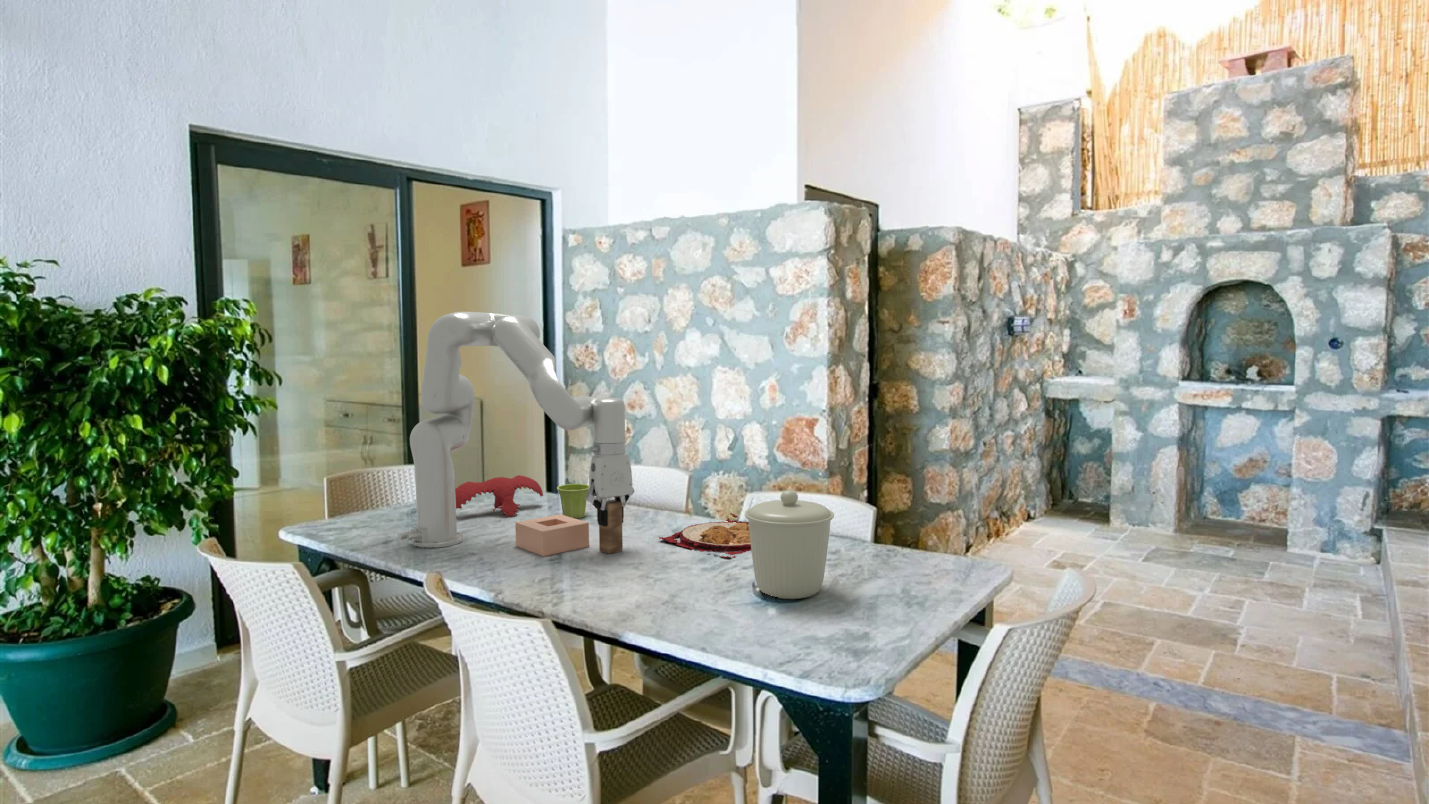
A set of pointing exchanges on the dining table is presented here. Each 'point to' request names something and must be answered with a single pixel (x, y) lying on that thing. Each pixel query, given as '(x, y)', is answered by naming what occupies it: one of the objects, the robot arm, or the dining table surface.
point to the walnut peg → (612, 529)
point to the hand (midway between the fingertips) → (610, 523)
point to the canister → (789, 545)
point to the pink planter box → (552, 534)
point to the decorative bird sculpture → (497, 492)
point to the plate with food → (715, 537)
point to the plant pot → (573, 499)
